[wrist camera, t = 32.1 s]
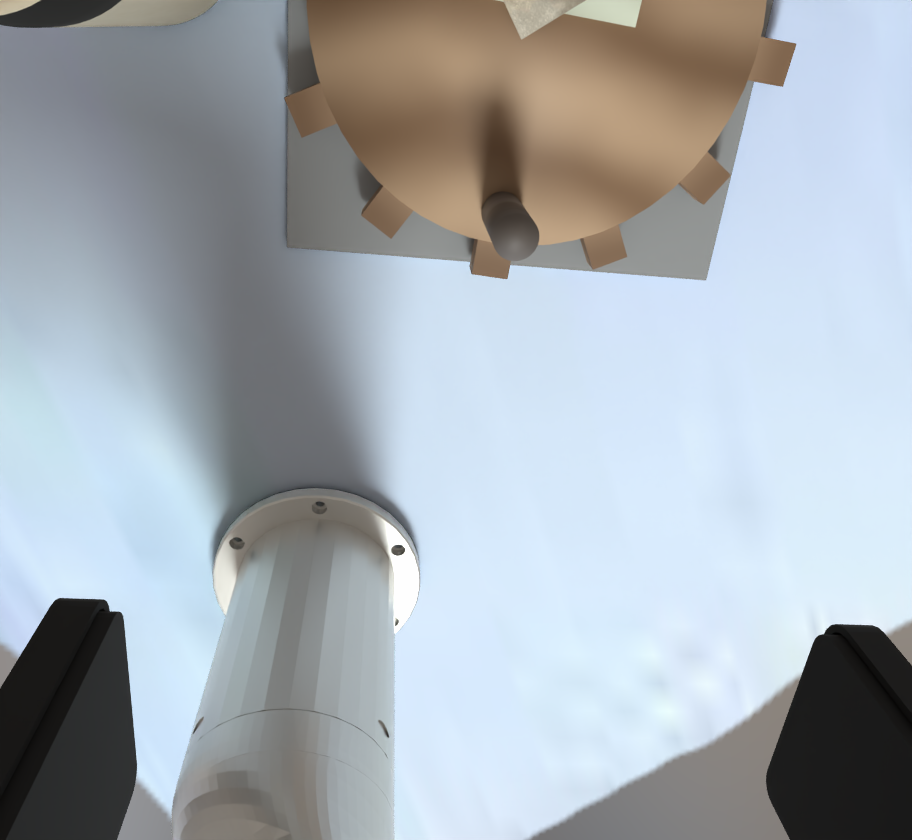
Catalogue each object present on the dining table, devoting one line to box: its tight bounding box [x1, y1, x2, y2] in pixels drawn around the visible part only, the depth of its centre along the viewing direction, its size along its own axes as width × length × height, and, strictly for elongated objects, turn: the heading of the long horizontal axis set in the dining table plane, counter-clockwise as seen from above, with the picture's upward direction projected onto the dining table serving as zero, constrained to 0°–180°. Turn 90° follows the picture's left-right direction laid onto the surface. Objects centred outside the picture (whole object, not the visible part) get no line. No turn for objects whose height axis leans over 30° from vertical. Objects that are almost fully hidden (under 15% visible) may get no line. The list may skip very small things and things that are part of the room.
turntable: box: [284, 0, 796, 279], centre depth 33 cm, size 23×23×7 cm
